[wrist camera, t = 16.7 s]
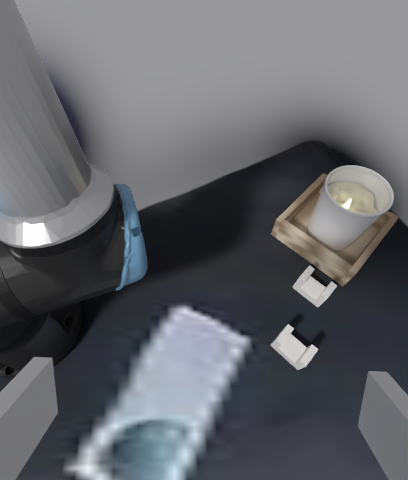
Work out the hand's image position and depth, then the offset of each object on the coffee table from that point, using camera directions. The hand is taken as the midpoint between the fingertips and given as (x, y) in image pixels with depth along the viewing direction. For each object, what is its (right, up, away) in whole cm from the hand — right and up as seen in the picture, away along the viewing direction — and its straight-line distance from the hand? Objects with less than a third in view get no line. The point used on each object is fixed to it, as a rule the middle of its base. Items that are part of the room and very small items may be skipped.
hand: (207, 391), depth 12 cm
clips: (+15, -6, +33) cm, 37 cm away
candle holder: (+23, +8, +41) cm, 48 cm away
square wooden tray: (+23, +8, +42) cm, 48 cm away
